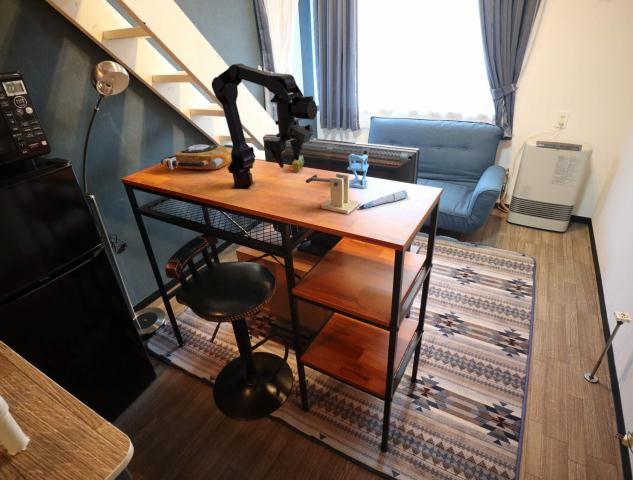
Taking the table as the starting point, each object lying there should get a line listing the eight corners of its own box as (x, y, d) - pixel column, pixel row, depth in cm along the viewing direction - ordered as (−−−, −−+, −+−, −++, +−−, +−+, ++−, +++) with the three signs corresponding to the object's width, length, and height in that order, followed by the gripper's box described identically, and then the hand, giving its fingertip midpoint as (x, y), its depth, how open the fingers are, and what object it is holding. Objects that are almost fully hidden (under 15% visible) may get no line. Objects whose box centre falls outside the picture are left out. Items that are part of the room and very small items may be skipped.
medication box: (299, 164, 158) (297, 155, 156) (304, 163, 157) (303, 155, 156) (293, 172, 148) (291, 163, 146) (299, 171, 147) (297, 162, 145)
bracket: (321, 208, 116) (320, 177, 110) (332, 199, 122) (332, 170, 116) (347, 214, 111) (348, 182, 106) (358, 204, 117) (359, 174, 111)
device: (215, 157, 143) (153, 154, 149) (219, 176, 147) (158, 173, 154) (239, 143, 161) (183, 141, 168) (241, 160, 166) (187, 158, 172)
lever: (306, 184, 116) (305, 178, 115) (314, 179, 120) (313, 173, 119) (339, 188, 110) (339, 180, 109) (347, 182, 114) (347, 175, 113)
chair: (370, 181, 136) (371, 150, 130) (364, 188, 129) (365, 157, 123) (351, 178, 139) (352, 149, 133) (344, 186, 132) (344, 155, 126)
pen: (402, 195, 122) (403, 188, 121) (408, 198, 120) (409, 191, 118) (356, 208, 115) (356, 200, 113) (362, 211, 112) (362, 203, 111)
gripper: (290, 125, 102) (293, 175, 110) (321, 113, 115) (322, 159, 123) (260, 122, 107) (266, 170, 115) (294, 111, 120) (297, 155, 128)
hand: (289, 163), depth 120 cm, fingers open, 9 cm apart
